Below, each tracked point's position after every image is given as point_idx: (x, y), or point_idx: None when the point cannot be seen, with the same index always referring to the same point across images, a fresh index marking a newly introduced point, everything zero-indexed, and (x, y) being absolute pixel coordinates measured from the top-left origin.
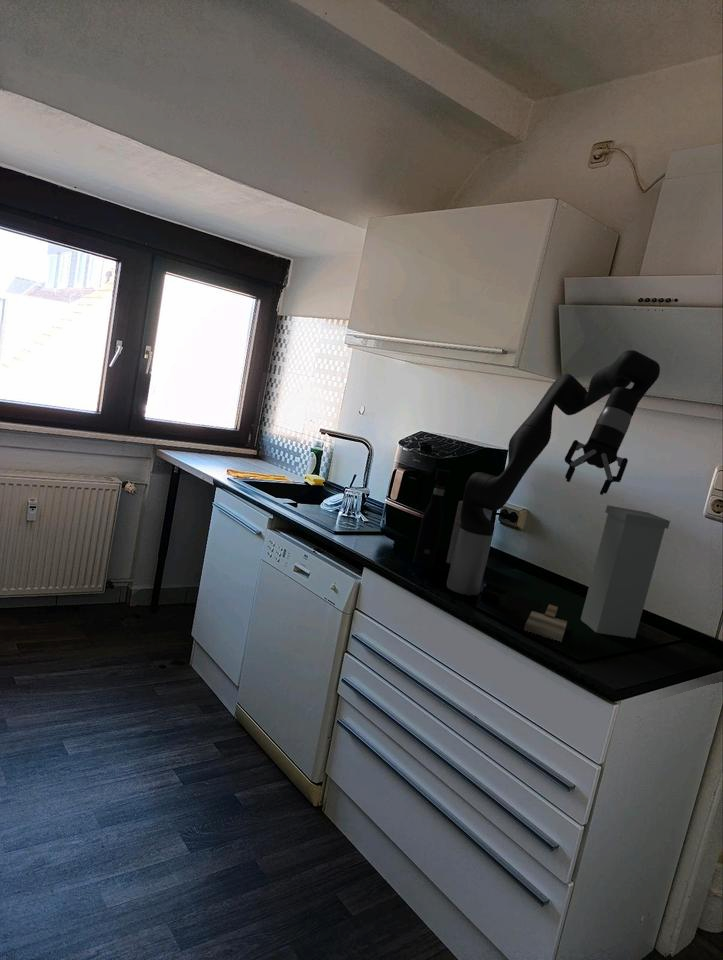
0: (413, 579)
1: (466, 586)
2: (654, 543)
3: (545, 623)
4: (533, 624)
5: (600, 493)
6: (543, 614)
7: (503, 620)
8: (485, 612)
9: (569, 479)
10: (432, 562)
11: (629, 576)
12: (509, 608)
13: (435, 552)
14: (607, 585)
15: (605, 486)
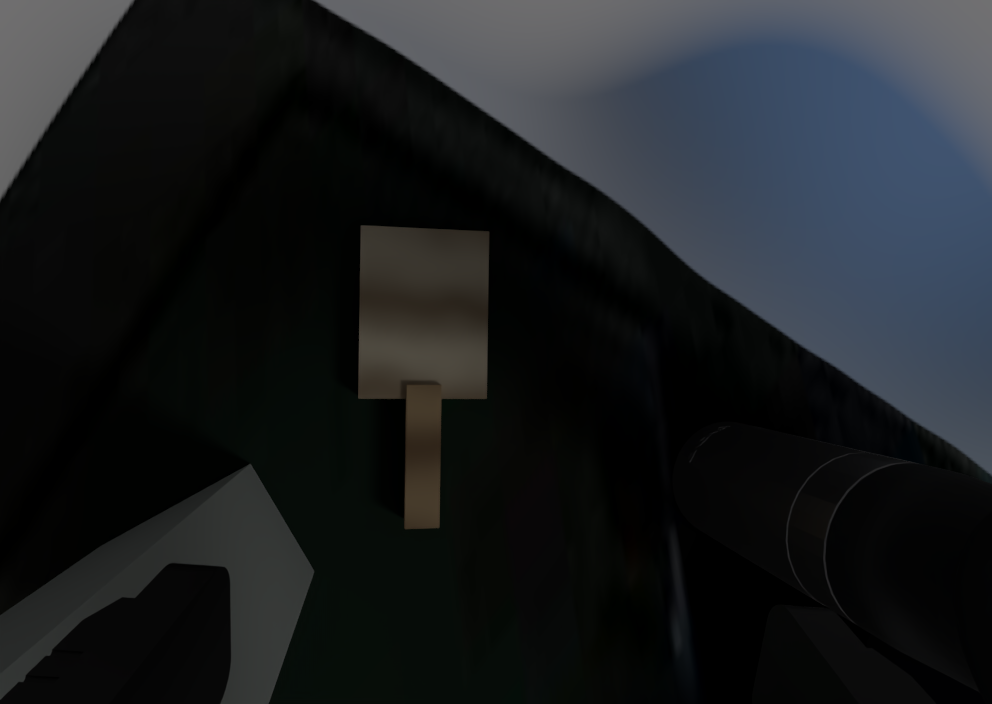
0: (872, 427)
1: (725, 428)
2: None
3: (428, 295)
4: (464, 243)
5: (215, 566)
6: (445, 395)
7: (556, 279)
8: (618, 306)
9: (792, 613)
10: (882, 649)
11: (58, 593)
12: (558, 433)
13: (913, 678)
14: (197, 523)
15: (92, 647)
